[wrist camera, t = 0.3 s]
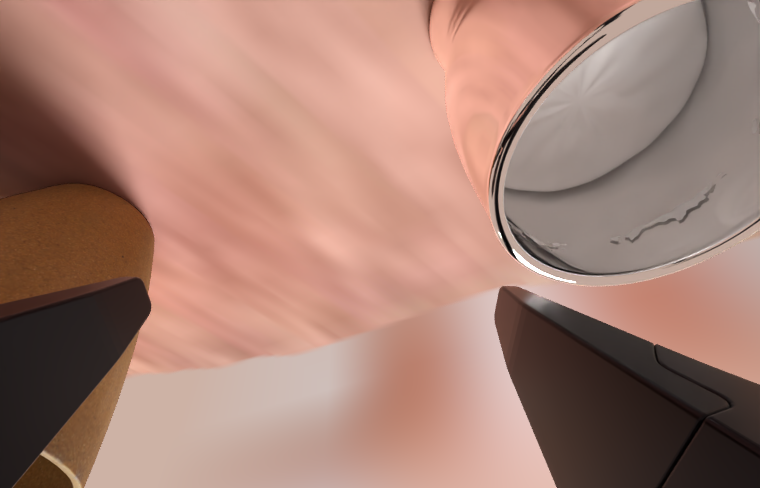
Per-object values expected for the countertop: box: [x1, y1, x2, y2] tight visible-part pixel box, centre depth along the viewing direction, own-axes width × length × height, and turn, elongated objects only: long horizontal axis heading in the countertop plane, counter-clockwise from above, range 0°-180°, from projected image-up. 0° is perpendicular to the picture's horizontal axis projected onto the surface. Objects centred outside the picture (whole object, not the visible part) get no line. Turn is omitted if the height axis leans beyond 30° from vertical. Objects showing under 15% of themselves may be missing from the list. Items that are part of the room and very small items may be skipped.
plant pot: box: [0, 183, 154, 488], centre depth 21 cm, size 15×15×16 cm
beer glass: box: [429, 0, 760, 286], centre depth 13 cm, size 7×7×15 cm
